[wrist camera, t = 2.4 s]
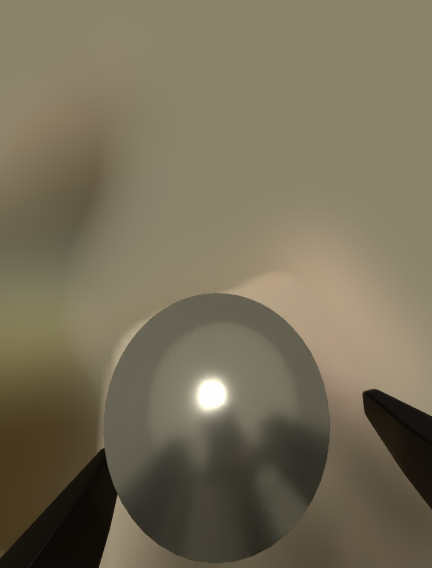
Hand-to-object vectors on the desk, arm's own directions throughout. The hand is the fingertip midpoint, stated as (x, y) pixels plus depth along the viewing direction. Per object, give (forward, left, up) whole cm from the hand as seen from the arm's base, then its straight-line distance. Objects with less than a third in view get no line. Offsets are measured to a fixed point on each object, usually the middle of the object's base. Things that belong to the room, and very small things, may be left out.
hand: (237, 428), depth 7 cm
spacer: (+1, 0, -9) cm, 9 cm away
